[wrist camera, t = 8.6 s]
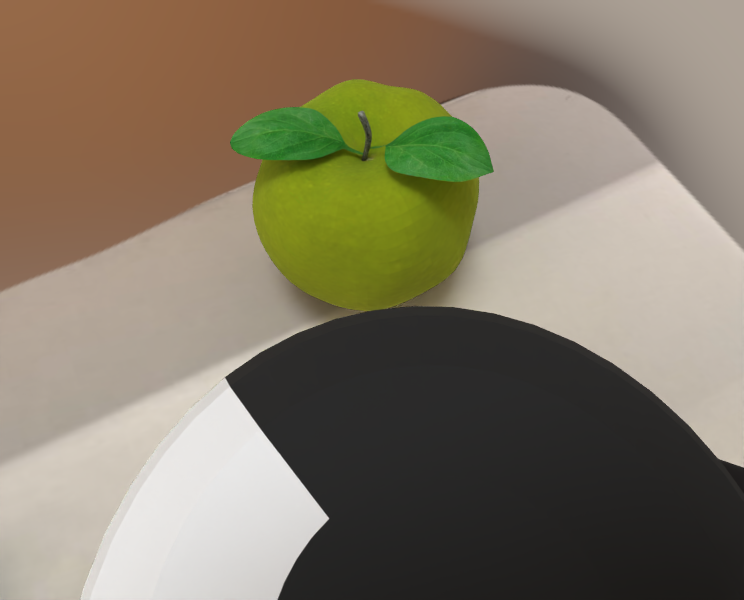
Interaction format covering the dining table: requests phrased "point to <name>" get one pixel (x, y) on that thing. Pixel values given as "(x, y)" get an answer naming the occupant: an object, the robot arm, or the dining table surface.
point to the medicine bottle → (426, 477)
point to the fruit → (364, 192)
